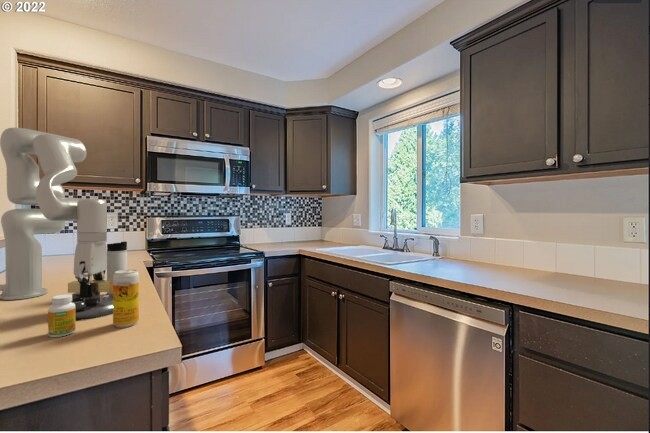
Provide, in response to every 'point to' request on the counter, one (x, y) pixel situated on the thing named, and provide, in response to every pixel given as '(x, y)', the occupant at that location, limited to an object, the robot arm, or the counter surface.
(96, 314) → the base
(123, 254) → the travel mug
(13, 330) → the counter surface
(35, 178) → the robot arm
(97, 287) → the orange-tipped wooden plank
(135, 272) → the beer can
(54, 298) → the supplement bottle
